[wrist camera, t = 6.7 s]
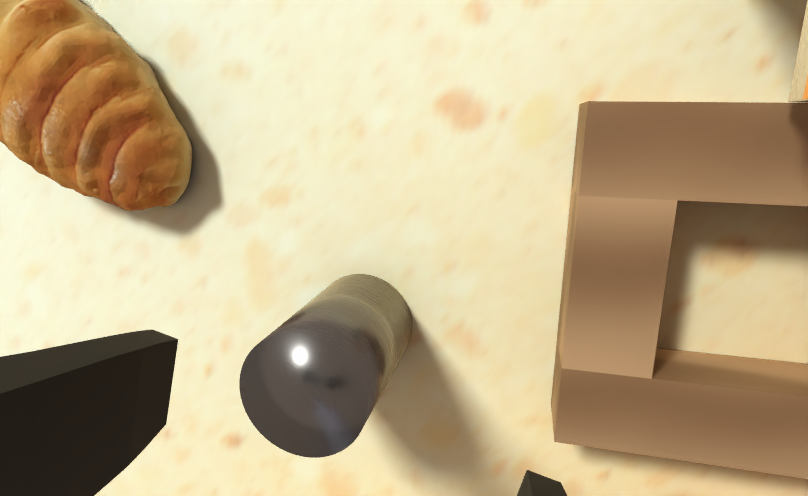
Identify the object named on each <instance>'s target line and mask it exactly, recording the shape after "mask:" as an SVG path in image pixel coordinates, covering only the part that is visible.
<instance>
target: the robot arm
mask: <svg viewBox="0 0 808 496" xmlns="http://www.w3.org/2000/svg"><path fill="white" fill-rule="evenodd" d="M177 344H178V339H176V338H173V337H171V336H168V335H165V334H163V333H160V332H157V331H155V330H144V331H136V332H130V333H124V334H118V335H113V336H108V337H103V338H97V339H92V340H87V341H82V342H77V343H72V344H67V345H62V346H57V347H52V348H47V349H42V350H37V351H32V352H26V353H21V354H15V355H9V356H3V357H0V496H94V495H95V494H96V493H98V492H99V491H100V490H101V489H102V488H103V487H105V486H106V485H107V484H108V483H109V482H110V481H111V480H113V479H114V478H115V477H116V476H117V475H118V474H119V473H121V472H122V471H123V470H124V469H125V468H126V467H127V466H128V465H129V464H130V463H131V462H132V461H133V460H134V459H135V458H136V457H137V456H138V455H139V454H140V453H141V452H142V451H143V450H144V448H145V447H146V446H147V445H148V444H149V443H150V442H151V441H152V439H153V438H154V437H155V436H156V435H157V434H158V433H159V432H160V430H161V429H162V428H163V427H164V426H165V425H166V421H167V414H168V407H169V400H170V393H171V386H172V379H173V372H174V365H175V358H176V351H177ZM517 496H567V494H566V492H565V490H564V488H563V486H562V484H561V482H558V481H555V480H553V479H550V478H547V477H545V476H542V475H539V474H537V473H534V472H531V471H529V470H527V471H526V474H525V476H524V479H523V482H522V484H521V487H520V489H519V492H518V494H517Z"/></svg>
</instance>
